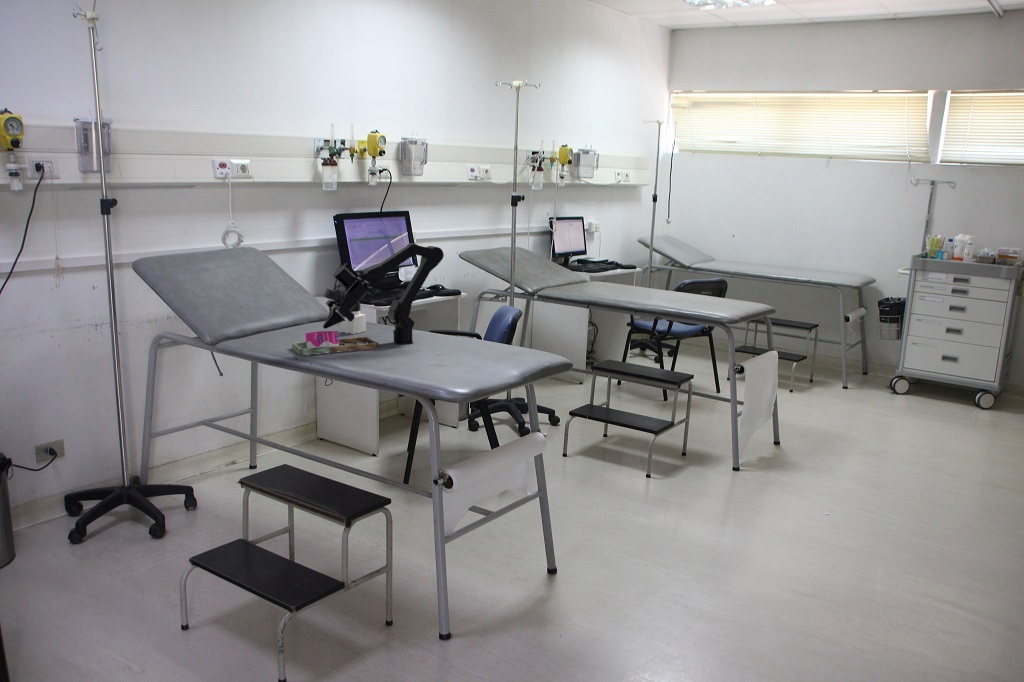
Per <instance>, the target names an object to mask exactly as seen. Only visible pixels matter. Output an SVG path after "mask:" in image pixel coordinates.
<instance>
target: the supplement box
mask: <svg viewBox="0 0 1024 682" xmlns="http://www.w3.org/2000/svg"><path fill="white" fill-rule="evenodd" d="M339 339H340V336H339V330H327V331H326V330H323V331H320V330H319V331H312V332H306V333H305V342H306V343H307V348H306V349H314V348H325V347H337V346H341V345H339Z"/></svg>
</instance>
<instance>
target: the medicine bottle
mask: <svg viewBox="0 0 1024 682" xmlns="http://www.w3.org/2000/svg"><path fill="white" fill-rule="evenodd" d="M358 303H359V305H358V306H356V305H355V306H354V307H353V309H352V310H351V312H352V313H353V314H354V319H353V320H352V321H351V322H350V321H348V319H347V318H346V317H345V318H344V319H345V321H342V322H340V333H341V332H345V333H344V334H348V333H351V334H350V335H356V334H355V333H358V334H361V333H360V332H362V333H364V332H363V331H367V327H366V326H367V325H366V323H367V322H366V314H365V313H363V314H362V313H361V303H360V302H358Z"/></svg>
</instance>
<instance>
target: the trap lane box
mask: <svg viewBox="0 0 1024 682" xmlns="http://www.w3.org/2000/svg"><path fill="white" fill-rule="evenodd" d="M366 342H367V343H368V344H367V343H366ZM342 343H343V344H344V345H346V346H344V345H343V344H342ZM355 343H356V344H358V345H356V344H355ZM339 344H342V345H340V346H337V347H325V348H314V349H307V348H306V349H305V348H302V347H307V343H306V341H298V342H297V341H296V342H291V349H292V350H293V349H294V350H293V351H294V352H296V354H298V355H299V356H300V355H301V356H300V357H304V356H303V355H306V356H310V355H309V354H315V353H325V352H337V351H349V352H351V351H350V350H360V351H362V350H361V349H371V350H377V349H376V348H379V349H380V344H379V342H377V341H375V340H374V339H372V338H371V337H369V336H358V337H346V338H339Z"/></svg>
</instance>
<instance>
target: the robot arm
mask: <svg viewBox="0 0 1024 682" xmlns="http://www.w3.org/2000/svg"><path fill="white" fill-rule="evenodd" d="M443 251H444V250H443V249H442V248H441V247H439V246H433V245H429V246H428V245H427V246H422V245H418V244H416V243H413V242H412V243H407V245H406V246H404V247H403V248H401V249H399V250H398V251H397V252H395V253H393V254H392V255H390V256H389V257H387V258H386V259H385V260H383V261H381V262H379V263H376V264H373V265H370V266H368V267H366V268H364V269H363V270H362V271H355V270H354V269H353V268H352V266H351V265H349V264H348V263H344V264H342V265H341V266H340V267H339V268H337V269H336V270H335V271H334V272H333V274H332V277H333V278H334V279H335V280H336V281H337V282H338V283H339V284H341V285H342V286H343V288H346V287H348V289H347V290H346V291H343V292H341V291H340V290H339V289H336V288H335V289H334V290H332V289H329V288H326V289H325V292H324V294H323V297H324V298H326V299H328V300H327V301H326V303H325V305H326V306H327V307H328V313H329V314H328V315H327V317H326V319H325V322H324V323H323V325H322V328H323V329H325V330H326V329H328V328H331V327H332V326H335V325H337V324H339V323H340V324H341V322H342V321H345V319H344V318H345V317H346V318H347V319H348V321H350V322H351V321H352V320H353V319H354V314H353V313H352V312H351V310H352V309H353V307H354V306H355V305H356V306H358V305H359V303H360V301H361V300H362V299H363V298H364V296H366V294H367V293H368V294H369V295H371V296H374V287H373V286H375V285H378V284H380V283H381V282H382V281H383V280H384V279H385V277H387V275H388V273H389V272H391V271H392V270H393V269H395V268H397V267H399V266H400V265H401V264H403V263H404V262H406V261H407V260H409V259H411V258H412V257H414V256H420V262H419V265H418V268H417V270H416V272H415V273H414V275H413V276H412V278H411V280H410V281H409V283H408V285H407V287H406V289H405V290H404V292H403V294H402V295H401V297H400V298H399V299H398V300H397V299H393V300H392V302H391V304H390V306H389V307H388V308H387V309H388V312H387V315H388V319H389V320H390V321H392V323H393V326H394V329H393V330H392V331H393V332H392V333H393V334H392V335H393V336H392V337H393V342H394V343H395V345H400V344H403V345H405V344H407V345H408V344H414V341H413V328H414V326H415V321H414V319H412V318H410V317H411V316H410V314H411V312H412V311H411V310H412V304H413V303H414V300H415V299H416V297H417V295H418V294H419V292H420V290H421V288H422V287H423V286H424V283H425V282H426V280H427V278H428V277H429V274H430V273H431V271H432V270H434V269H435V268H436V267H438V265H439V264H440V263H441V261H443V259H444V257H445V254H444V252H443ZM360 280H361V281H362V282H361V281H360ZM368 284H369V285H373V286H369V285H368Z"/></svg>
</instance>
